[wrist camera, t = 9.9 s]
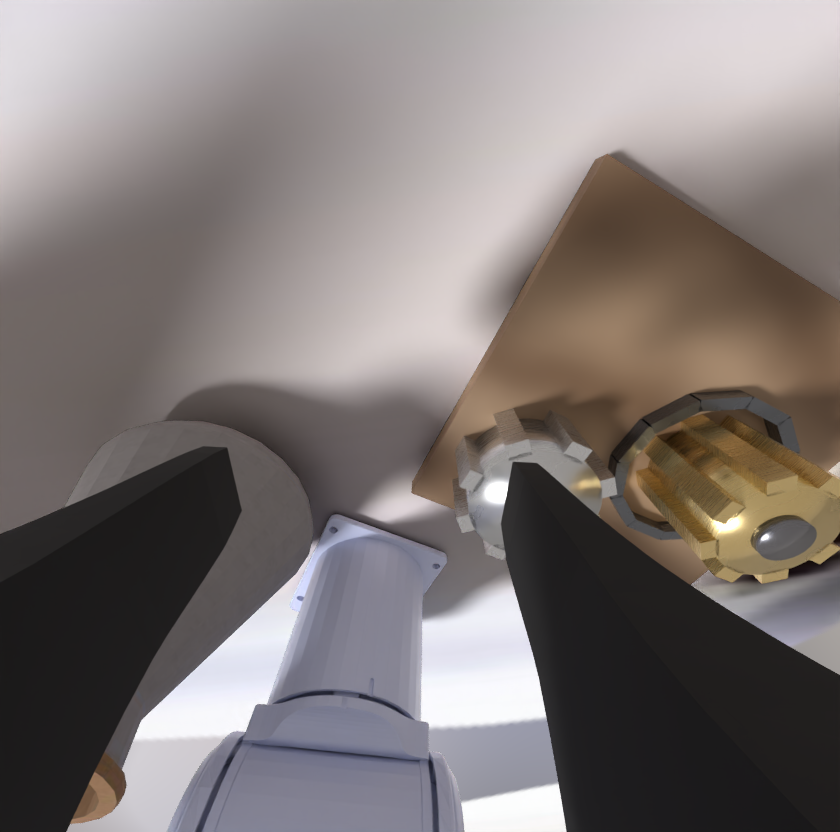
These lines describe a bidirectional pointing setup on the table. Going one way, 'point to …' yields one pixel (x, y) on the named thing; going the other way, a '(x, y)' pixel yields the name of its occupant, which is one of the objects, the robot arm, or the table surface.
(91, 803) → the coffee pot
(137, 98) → the table surface
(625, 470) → the ring
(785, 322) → the carrier plate
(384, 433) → the table surface
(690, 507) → the planet gear
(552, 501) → the robot arm
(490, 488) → the sun gear
